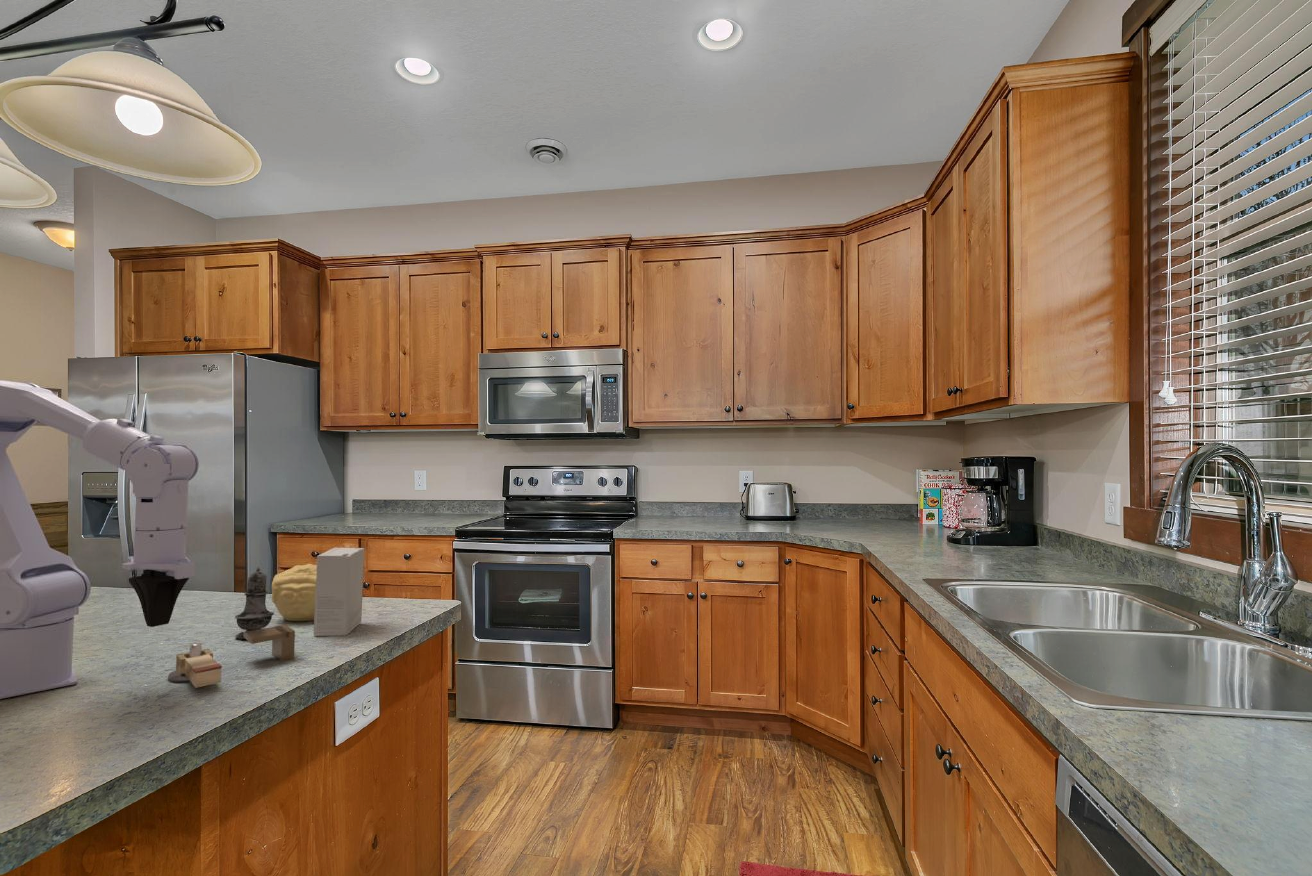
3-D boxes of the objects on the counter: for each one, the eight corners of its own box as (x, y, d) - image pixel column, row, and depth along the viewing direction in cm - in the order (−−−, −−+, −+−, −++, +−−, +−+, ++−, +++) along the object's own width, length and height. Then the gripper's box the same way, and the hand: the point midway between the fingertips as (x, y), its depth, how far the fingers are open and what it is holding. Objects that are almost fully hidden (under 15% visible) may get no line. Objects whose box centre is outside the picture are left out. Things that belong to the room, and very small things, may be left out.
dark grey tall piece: (279, 631, 109) (283, 565, 110) (261, 638, 103) (266, 568, 104) (245, 632, 108) (250, 565, 109) (225, 639, 102) (231, 569, 104)
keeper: (251, 667, 90) (252, 638, 90) (242, 660, 93) (243, 632, 93) (294, 658, 94) (294, 630, 94) (284, 651, 97) (285, 624, 97)
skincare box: (330, 624, 113) (332, 547, 114) (363, 623, 114) (365, 546, 115) (312, 637, 105) (314, 554, 105) (348, 636, 106) (350, 553, 106)
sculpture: (261, 627, 111) (263, 569, 112) (290, 610, 123) (292, 559, 124) (326, 624, 113) (327, 568, 114) (348, 609, 125) (350, 558, 125)
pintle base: (172, 686, 82) (173, 653, 82) (164, 675, 86) (166, 644, 86) (224, 674, 87) (225, 644, 87) (214, 664, 91) (215, 635, 91)
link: (176, 669, 86) (176, 653, 87) (207, 662, 89) (208, 647, 89) (190, 688, 79) (191, 672, 79) (225, 681, 82) (225, 665, 82)
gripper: (101, 528, 83) (98, 625, 83) (152, 535, 77) (148, 639, 76) (161, 524, 90) (158, 613, 89) (212, 529, 83) (209, 626, 83)
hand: (157, 624), depth 83 cm, fingers closed
